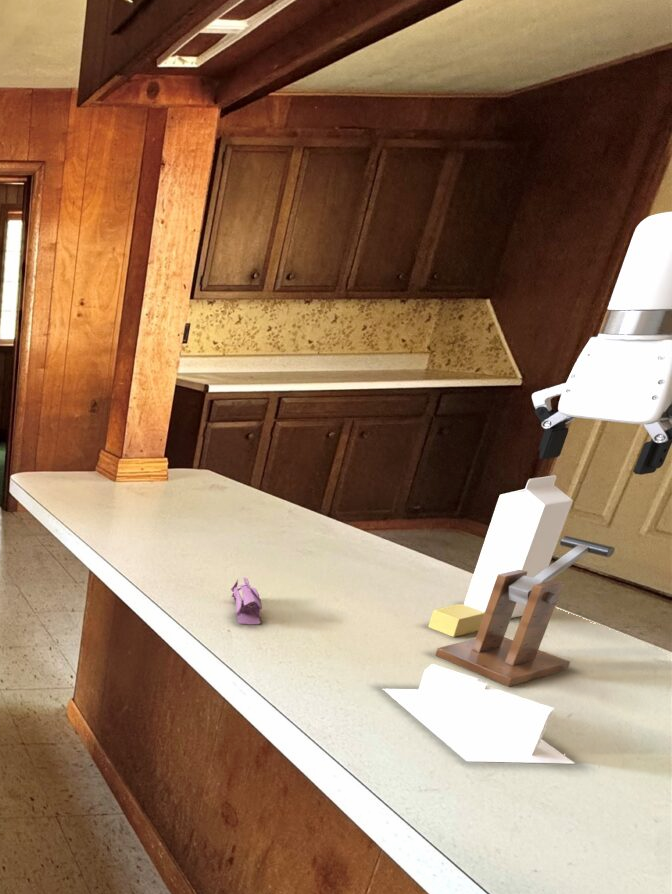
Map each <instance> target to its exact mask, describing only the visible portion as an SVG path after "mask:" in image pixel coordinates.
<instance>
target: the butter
mask: <svg viewBox="0 0 672 894" xmlns="http://www.w3.org/2000/svg"><path fill="white" fill-rule="evenodd" d="M484 613H485V612H483V611H480V610H477V609H474V608H472V607H469V606H466V605H464V603H457V604H453V605H449V606H445V607H439V608H435V609H433V611H432V614H431V617H430V621H429V624H428V628H429V629H432V630H434V631H437V632H439V633H441V634H445V635H447V636H450V637H453V638H455V637H459V636H462V635H468V634H471V633H474V632H478V630H479V627H480V625H481V622H482V619H483V616H484Z"/></svg>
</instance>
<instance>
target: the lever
mask: <svg viewBox="0 0 672 894" xmlns="http://www.w3.org/2000/svg"><path fill="white" fill-rule="evenodd" d="M559 546H561V547H565V548H570V550H569V551H568V552H566V553H565V554H563V555H562V556H561V557H560V558H558V559H557V560H555V561H554V562H553V563H551V564H549V566H548V567H547V568H546V569H545V570H543V571H542V572H540V573H539V574H538V575H536V576H535V577H534V578H531V577H528V576H525V575H524V576H523V577H521V578H520V579H518V580H517V581H516V582H514V583H513V584H512V585H510V586H509V600H512V601H515V602H518V603H521V604H524V605H526V604H527V601H528V599H529V596H530V593H531V590H532V588H533V585H536V584H540V583H544V582H549V581H553V580H554V579H555V578H556V577H557V576H559V575H560V574H561V573H563V572H564V571H565V570H567V569H568V568H570V567H571V566H572V565H573V564H575V563H576V562H578V561H579V560H580V559H582V558H583V557H584V556H586V555H587V554H592V555H597V556H601V557H605V558H610V557H612V556H613V554H614V553H615V550H616V549H615V547H614V546H612V545H611V546H610V545H606V544H602V543H598V542H594V541H591V540H585V539H582V538H577V537H573V536H569V535H565V536H563V537H562V538H561V540H560V542H559Z"/></svg>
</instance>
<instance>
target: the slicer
mask: <svg viewBox="0 0 672 894" xmlns="http://www.w3.org/2000/svg"><path fill="white" fill-rule="evenodd" d="M524 575H525V576H526V575H527V571H523V570H515V571H510V572H506V573H501V574H498V575H497V578H496V581H495V584H494V587H493V590H492V593H491V596H490V598H489V601H488V604H487V607H486V610H485V613H484V616H483V619H482V622H481V625H480V627H479V630H478V631H477V633H476V636H475V638H472V639H468V640H464V641H460V642H456V643H453V644H449V645H444V646H440V647H438V648H437V649H436V652H435V656H436V657H438V658H441V659H443V660H445V661H447V662H450V663H452V664H454V665H457V666H460V667H462V668H463V669H466V670H469V671H471V672H474V673H475V674H477V675H480V676H483V677H485V678H487V679H490V680H492V681H494V682H496V683H499V684H501V685H503V686H506V687H512V686H515V685H519V684H522V683H526V682H529V681H532V680H536V679H539V678H542V677H546V676H549V675H552V674H556V673H559V672H563V671H567V670H569V667H570V664H571V661H570V660H567V659H564V658H562V657H559V656H556V655H554V654H550V653H548V652H546V651H542V650H540V646H541V643H542V641H543V639H544V636H545V633H546V632H547V628H548V626H549V624H550V620H551V618H552V616H553V613H554V610H555V608H556V605H557V602H558V600H559V598H560V595H561V592H562V590H563V587H564V586H565V582H564V581H561V580H558V579H552V580H550V581H549V582H544V583H540V584H536V585H533V588H532V590H531V593H530V596H529V599H528V601H527V604H526V607H525V609H524V612H523V615H522V616H520V617H521V618H520V621H519V623H518V625H517V628H516V631H515V633H514V636H513V639H510V638H508V637H505V635H506V633H507V630H508V627H509V625H510V621H511V619H512V618H511V616H512V613H513V611H514V608H515V605H516V602H515V601H512V600H509V586H510V585H512V584H513V583H514V582H516V581H517V580H518V579H520V578H521V577H523V576H524Z"/></svg>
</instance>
